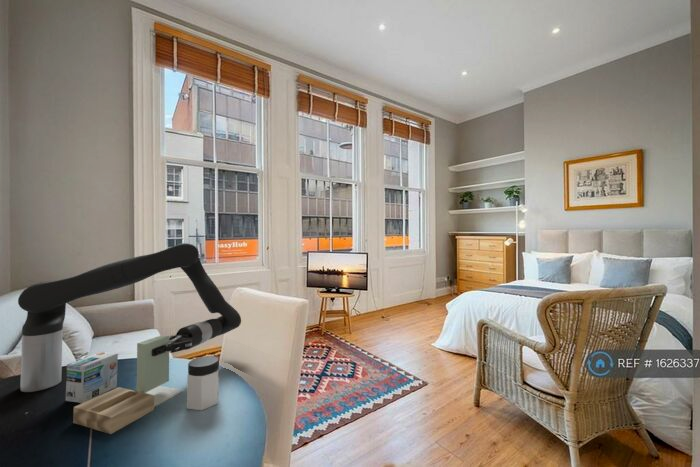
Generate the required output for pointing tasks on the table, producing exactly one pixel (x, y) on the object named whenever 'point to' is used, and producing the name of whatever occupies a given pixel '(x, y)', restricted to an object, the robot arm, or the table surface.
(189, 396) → the jar
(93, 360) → the light bulb box
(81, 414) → the grooved wooden block
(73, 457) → the table surface
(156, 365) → the grey-green angular block
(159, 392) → the mat
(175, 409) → the table surface
